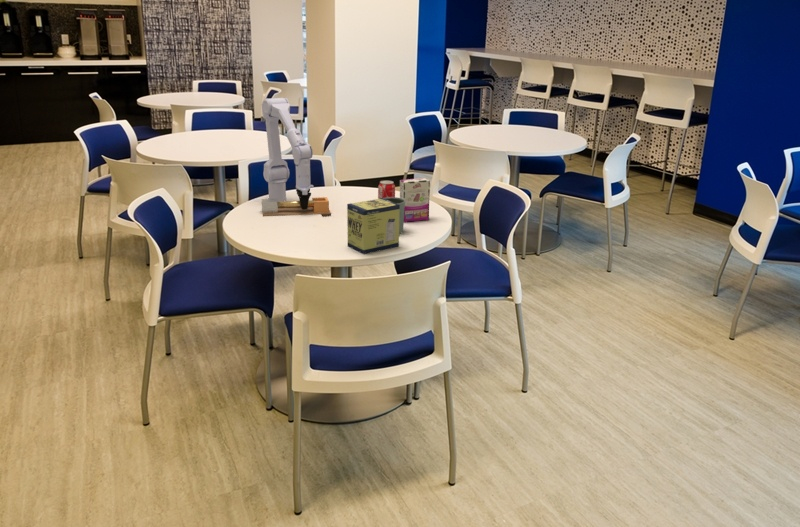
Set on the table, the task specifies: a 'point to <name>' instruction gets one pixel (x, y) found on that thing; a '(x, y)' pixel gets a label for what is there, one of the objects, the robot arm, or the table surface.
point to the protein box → (373, 225)
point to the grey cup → (401, 213)
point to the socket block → (321, 204)
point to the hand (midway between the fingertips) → (303, 207)
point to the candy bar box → (415, 199)
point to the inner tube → (293, 204)
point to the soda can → (386, 189)
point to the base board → (297, 212)
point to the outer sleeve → (269, 206)
